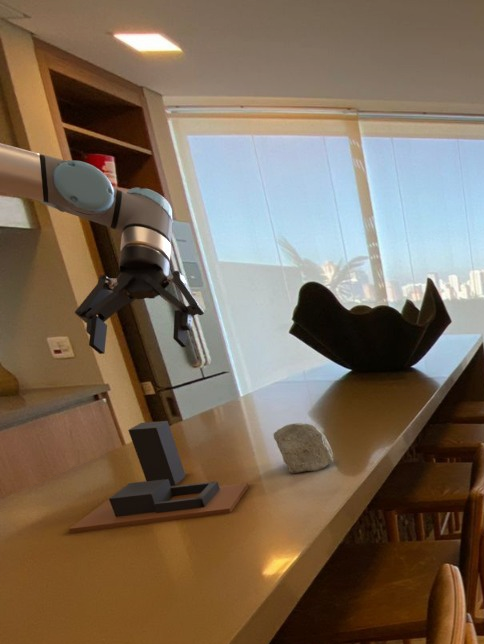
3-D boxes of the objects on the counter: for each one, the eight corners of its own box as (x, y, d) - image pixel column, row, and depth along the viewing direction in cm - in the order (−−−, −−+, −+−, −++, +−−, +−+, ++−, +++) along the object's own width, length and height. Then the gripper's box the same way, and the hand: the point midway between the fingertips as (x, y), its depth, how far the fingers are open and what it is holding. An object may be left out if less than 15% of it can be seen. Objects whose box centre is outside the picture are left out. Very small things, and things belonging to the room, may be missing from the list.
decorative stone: (322, 476, 107) (338, 428, 110) (257, 461, 104) (275, 411, 106) (330, 490, 119) (344, 446, 121) (272, 476, 115) (288, 431, 118)
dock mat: (71, 535, 83) (60, 509, 82) (111, 503, 95) (102, 481, 94) (231, 514, 90) (223, 490, 89) (249, 487, 102) (243, 466, 101)
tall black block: (149, 489, 102) (128, 429, 98) (160, 479, 107) (141, 422, 103) (176, 486, 103) (156, 427, 99) (186, 477, 108) (167, 420, 104)
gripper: (225, 268, 119) (223, 351, 112) (87, 276, 114) (76, 364, 107) (205, 240, 112) (202, 327, 105) (56, 246, 107) (43, 339, 100)
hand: (138, 346), depth 106 cm, fingers open, 13 cm apart
